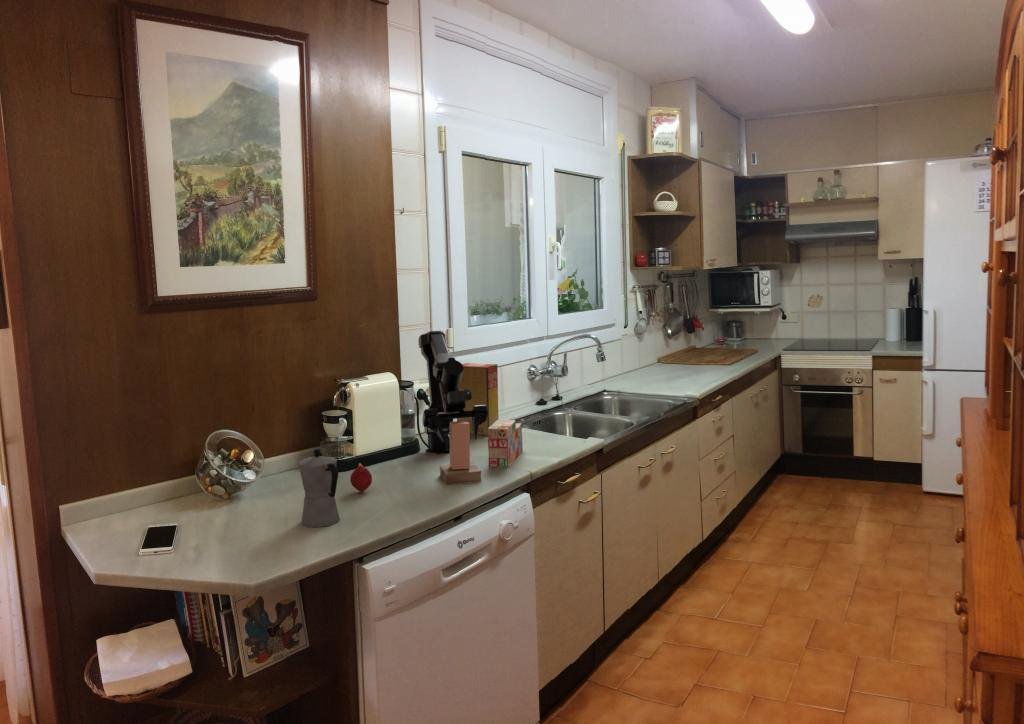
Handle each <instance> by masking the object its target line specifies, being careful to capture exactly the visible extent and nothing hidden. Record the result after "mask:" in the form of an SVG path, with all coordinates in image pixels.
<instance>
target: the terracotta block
mask: <svg viewBox="0 0 1024 724" xmlns="http://www.w3.org/2000/svg"><path fill="white" fill-rule="evenodd" d="M470 435H471V434H470V423H468V422H467V421H457V420H456V421H453V422H450V432H449V438H450V450H449V465H450V467H451V468H452V470H453V469H470V463H471V461H470V460H471V459H470V458H471V454H470V453H471V447H470V445H471V441H470V439H471V436H470Z"/></svg>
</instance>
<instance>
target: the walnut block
mask: <svg viewBox="0 0 1024 724" xmlns="http://www.w3.org/2000/svg"><path fill="white" fill-rule="evenodd" d="M439 476H440V477H441V479H442V480H443V482H444V484H445V485H446V486H451V485H459V484H460V483H461V484H469V483H468V482H471V483H478V481H481V482H482V471H481V469H480V468H478V466H477V465H476V464H475V462H470V469H453V470H452V468H451V467H450V464H442V465H439Z"/></svg>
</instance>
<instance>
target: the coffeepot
mask: <svg viewBox="0 0 1024 724" xmlns="http://www.w3.org/2000/svg"><path fill="white" fill-rule="evenodd" d="M313 454H314V455H313V456H307V457H303V458H302V460H299V461H297V463H298V467H299V472H300V477H301V482H302V486H303V490H304V495H305V496H304V498H303V506H302V507H303V508H302V516H301V522H302V525H303V526H305V527H307V528H324V527H329V526H333V525H335V524H337V523H338V522H339V521H340V520H341V519H340V515H339V510H338V505H337V502H336V498H335V496H336V492H337V484H338V478H339V470H338V468H337V465H338V464H337V463H338V460H337V459H336V457H331V456H324V455H323V456H321V455H320V454H321V449H320V448H316V449H313Z"/></svg>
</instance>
